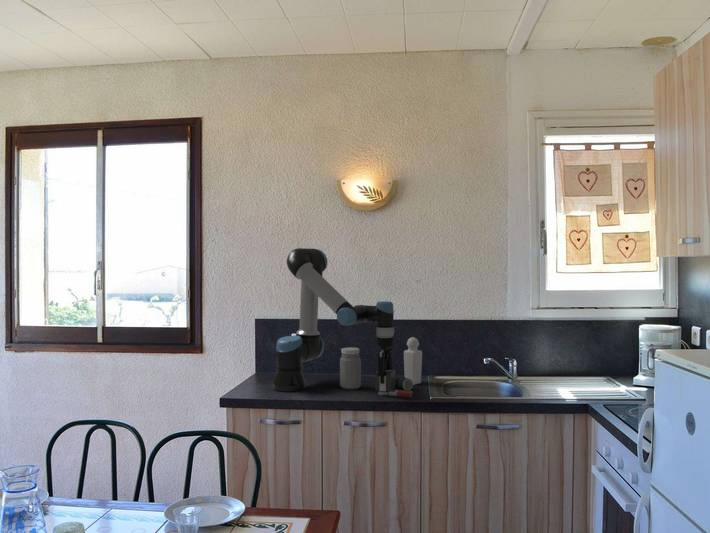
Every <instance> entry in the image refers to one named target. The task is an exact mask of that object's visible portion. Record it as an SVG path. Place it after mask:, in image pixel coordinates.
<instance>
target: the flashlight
mask: <svg viewBox="0 0 710 533" xmlns="http://www.w3.org/2000/svg"><path fill="white" fill-rule="evenodd" d="M395 387H397V388H399V389H400V390H407V391H412V388H413V387H414V385H413V382H412V380H411V379H408V378H405V377H402V376H398V375H395Z"/></svg>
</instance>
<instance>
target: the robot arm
mask: <svg viewBox="0 0 710 533" xmlns="http://www.w3.org/2000/svg"><path fill="white" fill-rule="evenodd" d="M287 255H288V256H287V257H286V264H287V265H286V266H287V268H288V270H289V271H290V274H292V275H293V276H294V277H295V278H296V279H297V280H301V281H300V282H301V283H300V301H299V303H300V307H299V329H298V330H296V332H295V335H287V336H283V337H280V338H278V340H277V341H276V347H275V348H276V350H275V351H276V373H275V376H274V379H273V382H272V389H273V390H275V391H278V392H296V391H297V392H298V391H302V390H305V389H306V388H307V385H306V384H307V383H306V379H305V377H304V372H303V363H305V362H309V361H310V362H311V361H314V360H317V359H318V358H320V357H321V356H322V354H323V353H324V350H325V343H324V340H323V338H322V337H321V333H320V331H319V330H318V321H319V320H318V318H319V317H318V316H319V315H318V314H319V300H321V301H322V302H323V303H324V304H326V306H327V307H329V309H331V310H332V311H333V313H334V314H335V315H336V319H337V322H338V323H339V324H340V325H341V326H352V325H357V324H363V323H374V324H376V346H377V347H380V349H379V351H378V352H377V357H378V358H377V361H378V362H377V371H378V374H377V375H378V376H380V391H386V376H385V372H386V369H390V370H394V369H393V346H394V344H395V343H394V342H395V341H394V340H395V337H394V335H395V334H394V333H395V329H394V321H395V320H394V314H395V311H394V303H393V302H392V301H389V300H388V301H387V300H386V301H377V302H376V305H367V304H366V305H364V304H359V305H358V304H357V305H354V306H353V305H352V304H351V303H350V302H349V301H348V300H347V299H346V298H345V297H344V296H342V294H341V293H340V292H338V291H337V289H335V287H334V286H332V285H331V283H329V282H328V281H327V280H326V278H324V277H323V272H325V270H326V269H327V267H328V257H327V255H326V254H325V252H324V251H322V250H320V249H319V248H302V247H298V248H295V249H293V250H291V251H290V253H289V254H287ZM381 372H382V373H381Z"/></svg>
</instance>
